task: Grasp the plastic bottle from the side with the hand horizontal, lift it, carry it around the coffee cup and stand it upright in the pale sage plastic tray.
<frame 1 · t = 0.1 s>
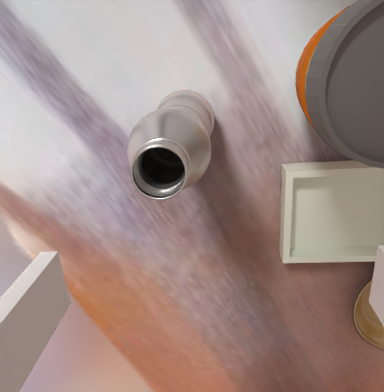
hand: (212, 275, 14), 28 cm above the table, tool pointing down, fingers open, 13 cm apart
tray: (337, 207, 43), on the table
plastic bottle: (186, 117, 40), on the table
reusable coffee cup: (337, 72, 37), on the table
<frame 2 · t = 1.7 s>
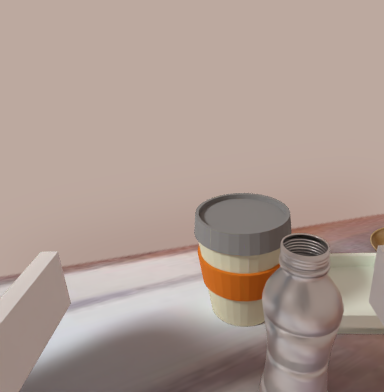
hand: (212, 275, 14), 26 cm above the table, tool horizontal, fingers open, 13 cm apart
tray: (352, 297, 50), on the table
reusable coffee cup: (242, 305, 50), on the table
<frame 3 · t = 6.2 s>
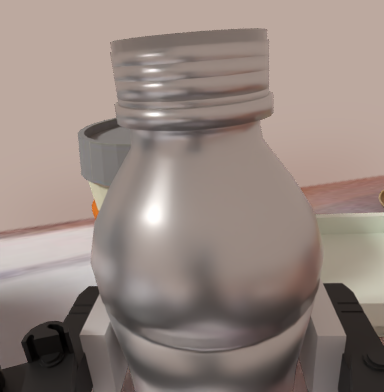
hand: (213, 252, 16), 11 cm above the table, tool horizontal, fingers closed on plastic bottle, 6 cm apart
tray: (352, 277, 31), on the table
reusable coffee cup: (177, 290, 31), on the table
when the fingers open (13 cm above the table, at t = 12.4 s): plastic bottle drops 1 cm, resting on tray.
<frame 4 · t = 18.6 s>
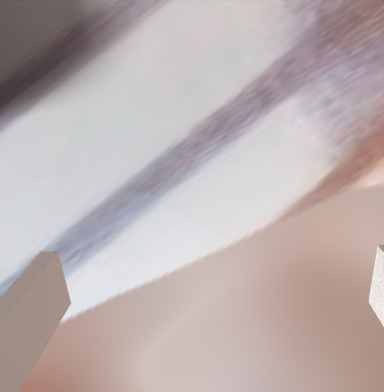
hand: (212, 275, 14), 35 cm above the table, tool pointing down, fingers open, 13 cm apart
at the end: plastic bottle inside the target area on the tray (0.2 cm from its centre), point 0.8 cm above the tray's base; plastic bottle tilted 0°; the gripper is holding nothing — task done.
